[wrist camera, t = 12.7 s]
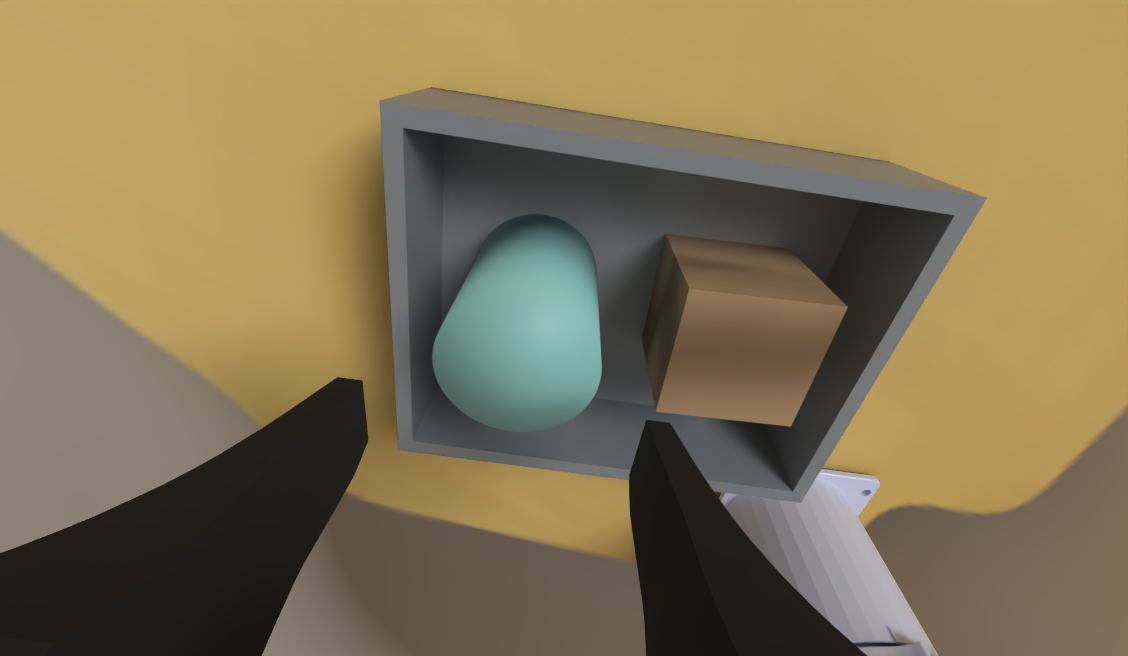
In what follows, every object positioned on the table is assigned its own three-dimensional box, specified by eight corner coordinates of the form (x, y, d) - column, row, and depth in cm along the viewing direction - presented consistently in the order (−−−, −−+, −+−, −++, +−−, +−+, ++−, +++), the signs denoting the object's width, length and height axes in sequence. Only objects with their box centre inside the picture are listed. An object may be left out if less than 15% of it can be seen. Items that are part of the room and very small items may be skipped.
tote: (763, 422, 24) (801, 502, 20) (432, 377, 24) (398, 449, 19) (889, 161, 18) (986, 198, 13) (431, 87, 17) (379, 100, 13)
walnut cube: (750, 350, 21) (790, 426, 17) (641, 338, 21) (655, 411, 17) (788, 248, 19) (848, 307, 15) (665, 233, 19) (689, 288, 14)
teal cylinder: (583, 331, 21) (582, 443, 15) (473, 312, 21) (429, 418, 15) (608, 226, 19) (619, 311, 13) (484, 203, 18) (435, 277, 12)
